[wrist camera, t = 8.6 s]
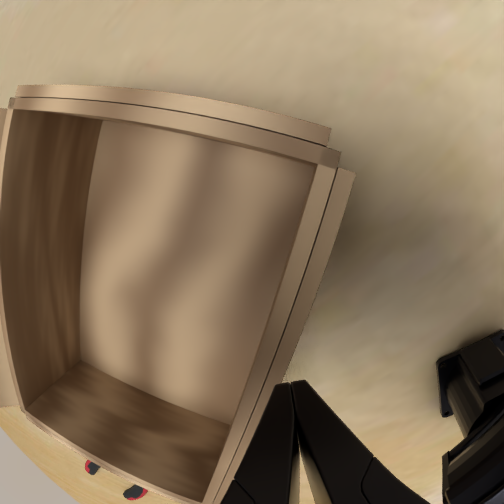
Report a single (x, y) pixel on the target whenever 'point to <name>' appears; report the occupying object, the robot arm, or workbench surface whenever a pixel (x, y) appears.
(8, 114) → the carton
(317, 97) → the workbench surface
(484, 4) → the workbench surface
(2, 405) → the far flap
